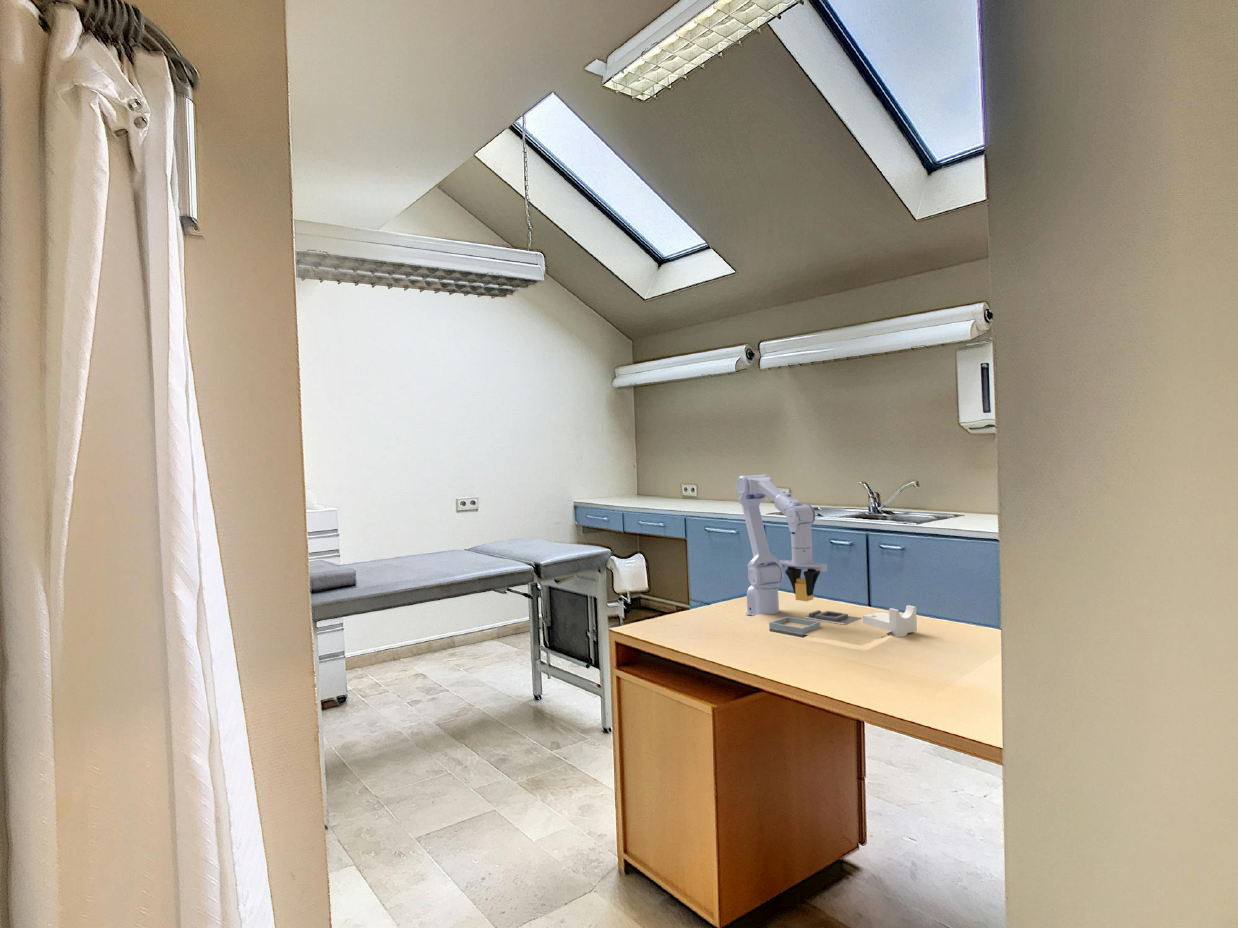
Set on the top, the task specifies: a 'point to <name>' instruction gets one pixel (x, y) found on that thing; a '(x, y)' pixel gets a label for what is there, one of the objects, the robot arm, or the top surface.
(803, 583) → the block
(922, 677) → the top surface
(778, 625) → the parts tray
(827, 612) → the grey socket base
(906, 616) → the bracket
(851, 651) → the top surface
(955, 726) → the top surface
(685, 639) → the top surface
